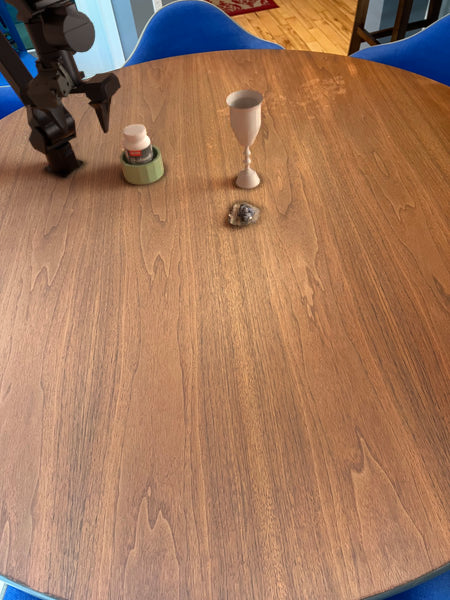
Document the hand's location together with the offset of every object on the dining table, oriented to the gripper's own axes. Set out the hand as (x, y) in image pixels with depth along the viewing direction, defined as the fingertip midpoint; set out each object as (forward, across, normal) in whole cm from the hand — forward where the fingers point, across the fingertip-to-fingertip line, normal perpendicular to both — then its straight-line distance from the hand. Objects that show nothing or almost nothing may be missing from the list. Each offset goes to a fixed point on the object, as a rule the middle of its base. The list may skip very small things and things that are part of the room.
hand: (86, 133), depth 93 cm
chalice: (+17, +28, +9) cm, 34 cm away
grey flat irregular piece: (+17, +30, -2) cm, 35 cm away
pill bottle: (+13, +5, +8) cm, 16 cm away
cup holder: (+13, +5, +8) cm, 16 cm away
